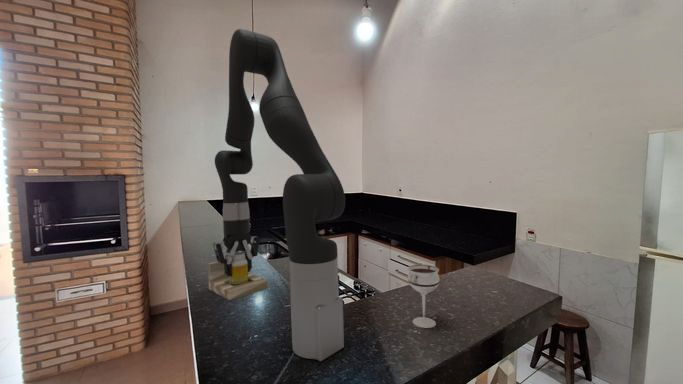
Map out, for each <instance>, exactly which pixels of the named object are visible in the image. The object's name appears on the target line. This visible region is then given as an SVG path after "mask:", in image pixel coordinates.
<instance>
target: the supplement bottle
mask: <svg viewBox="0 0 683 384" xmlns="http://www.w3.org/2000/svg"><path fill="white" fill-rule="evenodd" d="M244 258H245V253H244V252H242V251H238V252H235V254H234V256H233V258H232V261H231V263H230V264H232V276H231V277H229V283H230V285H231V286H233V287H234V286H238V285H241V284H245V283H248V273H249V272H248V262H247V260H246V259H244Z"/></svg>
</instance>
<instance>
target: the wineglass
mask: <svg viewBox="0 0 683 384" xmlns="http://www.w3.org/2000/svg"><path fill="white" fill-rule="evenodd" d="M407 269H408V274H407V280H408V282H407V283H408V284H409V286H411V288H412V289H413V290H414V291H416V292H419V294H421V304H422V316H421V317H420V316H419V317H415V318H413V320H412V323H413V325H414V326H417V327H419V328H424V329H425V328H426V329H428V328H429V329H430V328H434V327H436V325H437V323H436V321H435V320H434V319H432V318H429V317H426V295H427V294H428V293H431V292H433V291H434V290H435V289H437V288H438V286H439V284H440V275H439V274H438V273H439V271H440V269H439V268H438V266H436V265H435V266H434V265H429V264H412V265H410V266H408V267H407Z"/></svg>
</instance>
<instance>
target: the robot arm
mask: <svg viewBox="0 0 683 384" xmlns="http://www.w3.org/2000/svg"><path fill="white" fill-rule="evenodd" d="M228 55H229V57H228V60H229V61H228V113H227V121H226V128H225V133H224V134H225V136H224V141H225V143H226V144H227V145H228V146H230V147H232V148H234V149H238V150H225V149H224V150H220V151H218V152H217V153H216V155H214V166H215V169H216V172H217V174H218V177H219V181H220V184H221V189H222V206H223V207H222V226H223V230H222V231H223V238H222V241H219V242H214V243H213V244H212V246H213V250H214V254H215V257H216V261H217V262H219V263H222V264H224V273H225V274H226V275H227V276H228V277H231V276H232V264H230V263H231V261H232V258H233V256H234V254H235V252H244V253H245V258H246V260H247V262H248V273H250V272H251V270H252V269H253V265H252V264H253V263H252V262H253V261H252V260H253V258H254V257H257V256H258V253H259V248H260V247H259V246H260V239H261V238H260V237H259V236H256V235H252V236H251V233H250V232H251V223H250V222H251V220H250V219H251V217H250V207H249V197H248V196H249V195H248V192H249V191H248V186H247V184H246V183H245V182H240V181H235V180H233V179H232V176H231V175H247V174H249V173H251V171H252V169H253V167H254V163H253V162H254V160H253V156H252V138H253V133H254V128H255V113H254V111H253V108H252V105H251V103H250V101H249V98H248V95H247V93H246V90H245V85H244V81H245V80H244V78H245V73H250V74H254V75H256V74H257V75H260V76H263V77H265V79H266V81H267V83H268V84H267V87H265V88H266V89H265V90H264V92H263V94H262V96H261V98H260V101H259V104H258V105H259V106H258V107H259V108H258V111H259V114H260V118H261V121H262V123H263V126H264V128H265V131H266V133H267V135H268V137H269V138H270V139H271V141H272V142H273V143H274V144H275V145H276V146H277V148H279V149H280V150H281V151H282V152H284V153H285V155H286V156H289V158H290V159H291V160H292V161H294V163H296V165H298V167H299V169H300V170H301V171H302V173H299V174H298V173H297V174H292V175H291V176H289V177H288V178H287V179H286V181H285V183H284V186H283V191H282V207H283V209H282V210H283V218H284V219H283V220H284V230H285V243H286V245H287V249H288V260H289V262H288V265H289V287H290V288H289V289H290V290H289V291H290V317H291V318H290V320H291V341H292V344H291V345H292V346H291V347H292V351H293V353H294V354H295V355H297V356H298V357H301V358H303V359H308V360H309V359H311V360H317V361H319V362H323V361H324V360H325V359H327V358H328V357H330V356H332V355H334V354H335V353H337V352H339V351H340V350H342V349H343V348H344V346H345V338H344V337H345V335H344V310H343V309H344V305H343V303H344V302H343V298H342V297H340V296H339V265H338V262H339V259H338V256H339V255H338V244H337V243H336V241H334V240H332V239H330V238H327V237H321V236H320V235H318V233H317V228H316V223H318V222H319V223H321V222H326V221H332V220H335V219H338V218H340V217H341V216H342V215H343V213H344V211H345V209H346V208H345V207H346V196H345V195H346V194H345V190H344V188H343V184H342V182H341V180H340V178H339V176H338V174H337V173H336V172H335V170H334V168H333V166H332V165H331V163H330V161H329V160H328V157H326V155H325V153H324V151H323V150H322V147H321V146H320V144H319V141H318V139H317V138H316V136H315V133H314V132H313V130H312V128H311V125H310V123H309V120H308V118H307V115H306V113H305V111H304V108H303V106H302V104H301V102H300V100H299V98H298V96H297V93H296V92H295V90H294V88H293V84H292V82H291V80H290V78H289V74H288V72H287V69H286V66H285V62H284V59H283V55H282V53H281V49H280V46H279V44H278V42H277V41H276V40H275V39H274V38H272V37H271V36H270V35H269V36H268V35H265V34H262V33H259V32H255V31H251V30H249V29H243V28H237V29H235V31H234V32H233V34H232V36H231V39H230V44H229V53H228ZM250 243H251V244H250ZM249 244H250V245H251V246H250V247H249ZM224 246H225V252H224V253H223V250H224Z"/></svg>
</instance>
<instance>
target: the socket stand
mask: <svg viewBox="0 0 683 384" xmlns="http://www.w3.org/2000/svg"><path fill="white" fill-rule="evenodd" d="M244 259H246V258H244ZM207 271H208V272H207V274H208V275H207V277H208V290H210V291H212V292H213V293H216V295H219V296H220V297H223V298H224V299H225V300H227V301H231V300H232V301H233V300H235V299H238V298H242V297H245V296H248V295H251V294H255V293H257V292H260V291H263V290H266V289H268V280H267V279H265V278H263V277H260V276H257V275H255V274H252V273H250V272H248V283H245V284H241V285H238V286H234V287H233V286H231V285H230V283H229V277H228V276H227V275H226V274H225V273H224V264H222V263H219V262H217V260H216V261H211V262H208V263H207Z"/></svg>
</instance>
